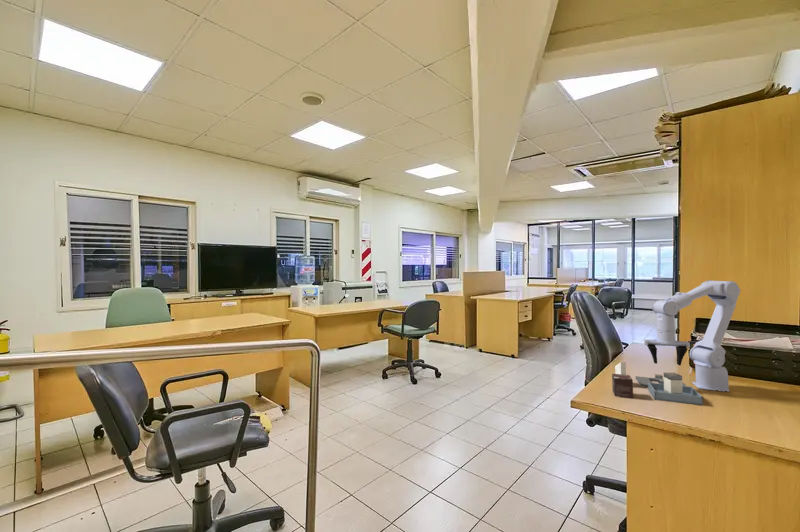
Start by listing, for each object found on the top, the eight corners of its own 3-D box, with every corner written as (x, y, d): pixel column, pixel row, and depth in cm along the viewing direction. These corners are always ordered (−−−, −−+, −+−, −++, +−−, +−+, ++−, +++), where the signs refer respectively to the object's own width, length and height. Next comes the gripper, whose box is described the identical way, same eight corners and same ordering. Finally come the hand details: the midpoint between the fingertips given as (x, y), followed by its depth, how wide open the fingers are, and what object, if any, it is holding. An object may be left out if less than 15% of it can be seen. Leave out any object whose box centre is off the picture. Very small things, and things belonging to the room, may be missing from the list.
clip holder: (681, 383, 142) (681, 376, 142) (689, 392, 132) (689, 384, 132) (635, 378, 149) (635, 371, 149) (640, 386, 139) (640, 379, 139)
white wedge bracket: (626, 383, 136) (620, 362, 140) (617, 388, 144) (612, 368, 148) (636, 384, 135) (630, 362, 139) (626, 389, 143) (621, 368, 148)
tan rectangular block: (675, 393, 129) (674, 372, 129) (682, 397, 125) (682, 376, 125) (664, 393, 130) (663, 372, 130) (671, 397, 126) (670, 375, 126)
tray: (692, 394, 129) (692, 386, 129) (703, 405, 119) (702, 397, 119) (648, 389, 135) (647, 382, 135) (654, 399, 125) (654, 391, 125)
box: (630, 393, 132) (629, 374, 132) (633, 399, 127) (633, 379, 127) (612, 391, 135) (611, 373, 135) (614, 396, 129) (614, 377, 129)
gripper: (685, 329, 136) (686, 362, 136) (641, 327, 142) (643, 359, 142) (691, 332, 129) (692, 367, 129) (645, 330, 136) (647, 364, 136)
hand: (667, 363), depth 135 cm, fingers open, 7 cm apart
